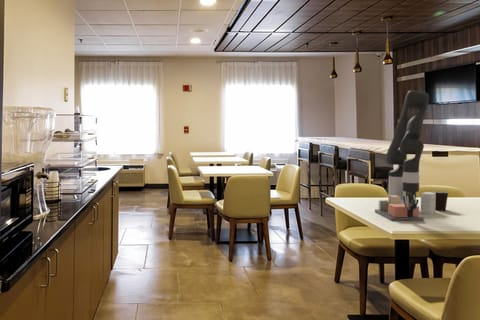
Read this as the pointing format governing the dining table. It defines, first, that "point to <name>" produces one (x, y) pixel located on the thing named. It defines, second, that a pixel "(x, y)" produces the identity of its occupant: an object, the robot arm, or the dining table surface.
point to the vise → (384, 212)
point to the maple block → (393, 199)
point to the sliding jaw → (401, 210)
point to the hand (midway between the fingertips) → (410, 217)
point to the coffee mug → (440, 200)
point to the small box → (428, 202)
